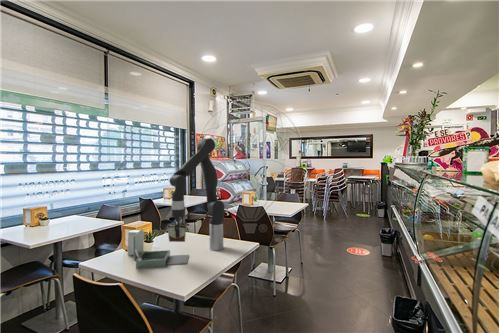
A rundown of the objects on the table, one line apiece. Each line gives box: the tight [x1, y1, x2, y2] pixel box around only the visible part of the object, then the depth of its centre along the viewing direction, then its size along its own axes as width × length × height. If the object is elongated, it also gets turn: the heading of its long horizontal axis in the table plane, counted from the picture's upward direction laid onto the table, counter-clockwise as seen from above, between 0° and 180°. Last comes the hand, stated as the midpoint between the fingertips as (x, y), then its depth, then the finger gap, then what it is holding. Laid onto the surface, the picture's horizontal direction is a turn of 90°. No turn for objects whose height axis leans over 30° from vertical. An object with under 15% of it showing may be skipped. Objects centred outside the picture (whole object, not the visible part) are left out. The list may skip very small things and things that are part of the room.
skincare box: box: [127, 229, 145, 256], centre depth 170 cm, size 8×6×15 cm
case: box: [133, 228, 171, 269], centre depth 155 cm, size 17×16×18 cm
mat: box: [166, 254, 190, 266], centre depth 158 cm, size 11×14×1 cm
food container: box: [166, 222, 188, 243], centre depth 159 cm, size 12×6×10 cm, turn 86°
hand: (178, 235), depth 158 cm, fingers closed on food container, 5 cm apart
